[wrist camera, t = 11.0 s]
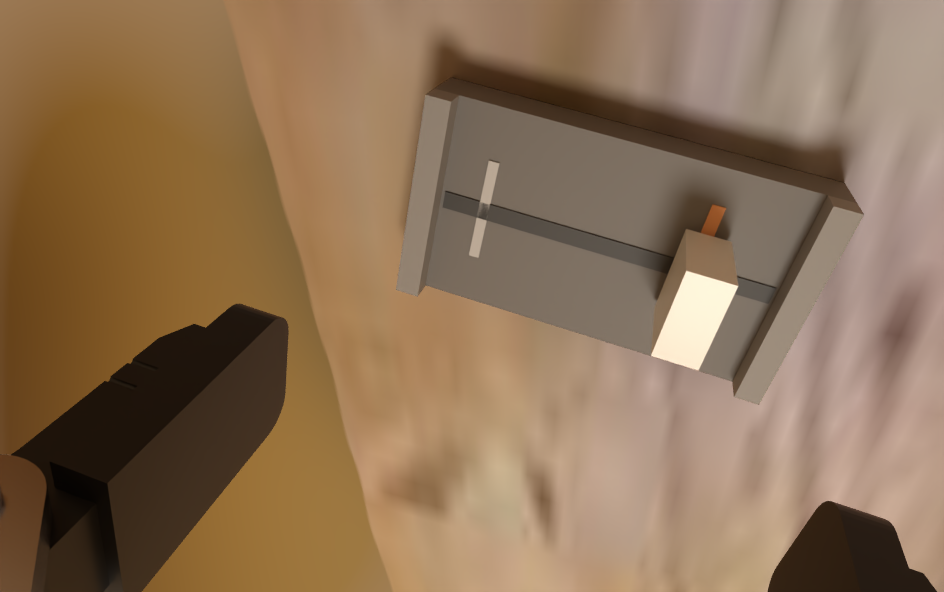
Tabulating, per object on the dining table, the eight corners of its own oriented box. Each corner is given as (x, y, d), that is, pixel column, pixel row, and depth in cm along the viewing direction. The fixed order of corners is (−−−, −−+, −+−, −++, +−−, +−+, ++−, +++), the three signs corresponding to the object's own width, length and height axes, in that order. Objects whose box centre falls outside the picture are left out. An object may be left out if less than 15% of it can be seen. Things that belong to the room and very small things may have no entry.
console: (451, 77, 38) (425, 94, 34) (844, 183, 35) (863, 214, 31) (420, 258, 44) (396, 289, 41) (752, 360, 41) (758, 404, 38)
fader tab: (686, 228, 35) (686, 270, 31) (731, 241, 35) (738, 286, 30) (654, 307, 38) (650, 355, 33) (696, 319, 37) (698, 370, 33)
